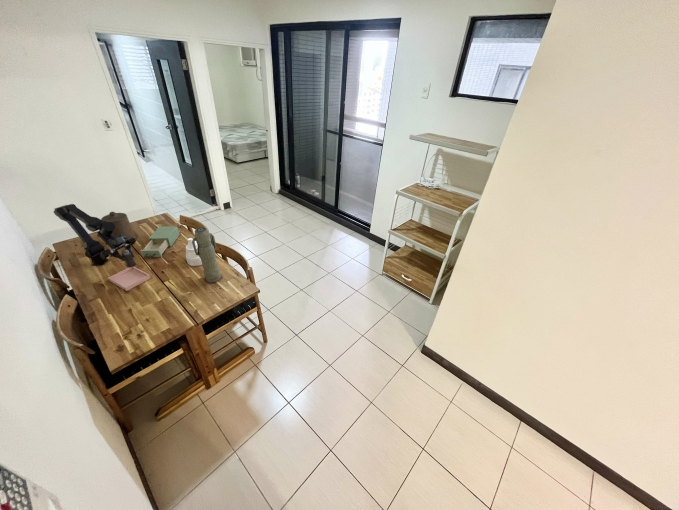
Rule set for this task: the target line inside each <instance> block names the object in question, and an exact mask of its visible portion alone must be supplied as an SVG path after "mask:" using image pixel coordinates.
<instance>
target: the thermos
mask: <svg viewBox="0 0 679 510" xmlns="http://www.w3.org/2000/svg"><path fill="white" fill-rule="evenodd" d="M193 234H194V238H192V239H193V240H192V244H193V248H194V251H195V254H196V255H197V256H198V255H199V257H200V258H201V261H202V265H201V266H202V268H203V276H204V278H205V281H206V283H209V284H214V283H218V282H219V281H220V280H221V279H222V276H221V269H220V268H219V266H218V262H217V258H216V250H217V247H218V246H217V243H216V239H215V235H214V234H212V233H210V232H209V230H208V229H207V227H203V226H202V227H197V228H196V229H195V230H194V233H193ZM195 241H196V242H197V246H198V247H197V249H196V246H195ZM197 250H198V252H197Z"/></svg>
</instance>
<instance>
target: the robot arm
mask: <svg viewBox="0 0 679 510" xmlns="http://www.w3.org/2000/svg"><path fill="white" fill-rule="evenodd" d="M53 214H54V215H55V216H56V217H57V218H58V219H60V220H61V221H63V222H66V223H67V225H69V227H70V228H71V229H72V230H73V232H74V233H75V234H76V235H77V236H78V238H79V239H80V240H81V241H82V242H83V248H84V250H85V252H84V256H85V257H86V258H89V259H90V260H91V262H92V263H91V266H104V265H105V264H106V263H107V262H108V261H109V258H108V257H109V256H110V258H116V259H119V260H122V261H124V262H125V261H127V260H126V259H125V258H124V257H123V256H122V253H120V252H119V250H121V249H123V248H124V250H128V251H129V252H131V254H132V257H133V258H135V255H134V252H133V250H132V246H133V245H135V243H136V242H137V239H136V238H133V237H132V238H130V239H127V240H126V242H125V239H126V238H127V237H126V236H125V235H124V234H121V235H119V236H120V237H117V236H114V235H113V232H114V230H115V225H114V224H113V223H111V222H106V221H103V220H101V219H102V218H99V217H97V216H91V215H90V214H88V213H86V212H85V211H83V210H82V209H80V208H79V207H77V205H76V204H74V203H70V204H65V205H61V206H57V207H55V208H54V209H53ZM81 222H82V223H83V224H84V225H85V227H84V226H83V225H82V224H81ZM85 228H86V229H85ZM87 230H88V231H89V232H92V233H94V232H96V236H97V237H98V238H100V239H101V240H102V241H103V242H104V243H105V245H106V246H108V247H109V248H110V249H109V248H106V249H105V245H103V244H102V243H101V242H100V241H99V240H95V239H93V238H92V236H91V235H90V234H89V233H88V231H87ZM123 242H125V243H123ZM122 243H123V244H122Z"/></svg>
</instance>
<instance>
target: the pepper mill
mask: <svg viewBox="0 0 679 510" xmlns="http://www.w3.org/2000/svg"><path fill="white" fill-rule="evenodd" d="M121 252H122V253H121V255H122V256H123V257H124V258H125V259H126V260H127V261H124V262H125V265H126V268H131V267H136V266H137V262H136V261H135V259H134V257H132V254H131V252H129V251H128V250H125V249H123V250H122V251H121Z"/></svg>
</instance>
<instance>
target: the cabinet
mask: <svg viewBox="0 0 679 510" xmlns="http://www.w3.org/2000/svg"><path fill="white" fill-rule="evenodd" d="M179 236H180V230H179V228H178V226H174V225H171V226H168V225H167V226H158V227H157V228H156V229H155V230H154V232H152V234H151V236H150V237H148V241H149V242H150V241H151V240H152V239H167V240H168V243H169V245H168V247H169V248H170V247H171V248H172V246H173V245H174V243H175V241H176V240H177V239H178V238H179ZM168 247H167V248H168Z"/></svg>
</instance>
